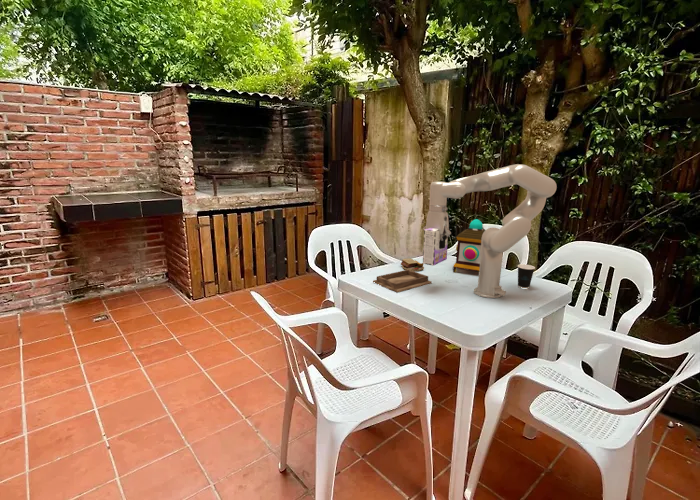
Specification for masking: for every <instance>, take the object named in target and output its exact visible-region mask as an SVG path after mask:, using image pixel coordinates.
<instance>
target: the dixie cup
mask: <svg viewBox="0 0 700 500" xmlns="http://www.w3.org/2000/svg"><path fill="white" fill-rule="evenodd" d="M535 269H536V267H535V266H533V265H531V264H523V263H522V264H518V265H517V287H518V286H519V287H522V288H528V287H529V288H530V287H531V282H532V279H533V274H534V272H535ZM519 287H518V288H519Z"/></svg>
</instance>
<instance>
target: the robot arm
mask: <svg viewBox="0 0 700 500" xmlns="http://www.w3.org/2000/svg"><path fill="white" fill-rule="evenodd" d="M514 185H518V186H520V187H521V188H523V189H524V190H526V191H527V192H526V193H527V194H526V197H525V199H524V200H523V201H522V202H520V204H519V205H518V206H516V207H515V208H514V209H512V210H511V211H510V212H509V213H508V214H506V215H505V216H504V217H503V218H502V220H501V224H502V225H501V227H500V228H498V227H488V228H487V229H485V231H484V233H483V235H482V238H481V259H480V269H479V272H478V279H477V287H475V288H473V294H475V295H476V296H479V297H482V298H488V299H498V298H501V297H505V296H506V294H507V290H504V289H502V286H501V285H500V283H501V276H502V275H501V273H502V268H503V267H502V266H503V261H504V260H503V256H504V253H505V252H507V251H508V250H509V249H512V247H514V246H515V245H516V244H517V243H518V242H520V241H521V240H522V239H524V238H525V237H526V236H527V235H528V234H529V232H530V230H531V228H532V221H533V219H535V218H536V217H537V216H538V215H539V214H540V213H541V212H542V211H543V209H544V207H545V205H546V200H547V199H548V198H551V197H552V196H553V195H555V193H556V191H557V188H558V187H557V183H556V181H555V180H554V179H553V178H551V177H549V176H548V175H545V174H543V173H542V172H540V171H538V170H536V169H534V168H533V167H530V166H528V165H526V164H519V163H517V164H515V163H514V164H511V165H507V166H503V167H500V168H496V169H491V170H488V171H484V172H481V173H478V174H474V175H470V176H465V177H461V178H457V179H454V180H451V181H448V182H446V181H432V182H431V183H430V187H429V209H428V212H427V217H426V224H425V226H423V228H422V230H423V231H424V230H425V229H428V228H435V229H438V230H439V234H440V239H441V240H440V243H439V248H440V249H443V248H445V240H446V239H447V238H448V239H449V237H450V235H452V232H451V231H450V229H449V227H450V224H449V214H448V212H447V211H448V207H447V199H449V198H450V199H461V198H463V197H464V196H465V195H466V194H469V193H474V192H488V191H489V192H490V191H491V192H492V191H494V190H498V189H501V188H502V189H503V188H506V187H510V186H514ZM445 234H446V235H445ZM442 235H443V236H442Z"/></svg>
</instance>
